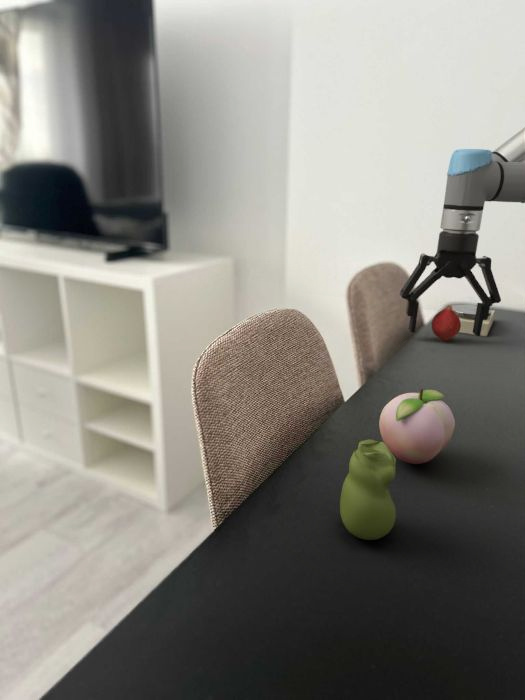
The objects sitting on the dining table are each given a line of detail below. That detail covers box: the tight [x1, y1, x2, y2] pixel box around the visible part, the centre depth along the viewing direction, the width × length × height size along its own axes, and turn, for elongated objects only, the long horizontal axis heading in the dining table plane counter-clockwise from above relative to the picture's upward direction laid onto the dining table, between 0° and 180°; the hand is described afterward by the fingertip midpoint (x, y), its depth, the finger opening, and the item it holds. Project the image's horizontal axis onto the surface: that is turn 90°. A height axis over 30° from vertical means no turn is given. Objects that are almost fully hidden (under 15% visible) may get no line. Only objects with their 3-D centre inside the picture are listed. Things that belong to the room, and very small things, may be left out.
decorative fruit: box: [378, 388, 456, 465], centre depth 62 cm, size 9×8×10 cm
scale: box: [458, 303, 496, 337], centre depth 122 cm, size 14×10×4 cm
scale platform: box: [451, 303, 492, 318], centre depth 120 cm, size 9×9×1 cm
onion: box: [431, 305, 461, 342], centre depth 109 cm, size 6×6×8 cm
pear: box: [339, 438, 397, 541], centre depth 49 cm, size 6×5×10 cm
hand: (443, 332), depth 110 cm, fingers open, 13 cm apart
